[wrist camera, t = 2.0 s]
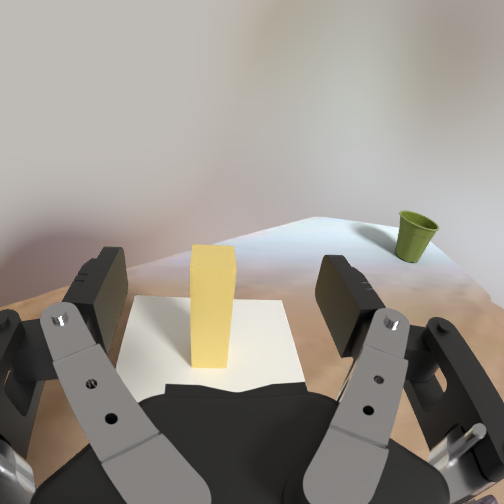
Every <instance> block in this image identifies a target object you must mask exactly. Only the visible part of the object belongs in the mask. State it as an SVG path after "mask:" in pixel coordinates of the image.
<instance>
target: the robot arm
mask: <svg viewBox="0 0 504 504" xmlns="http://www.w3.org/2000/svg"><path fill="white" fill-rule="evenodd" d="M127 291H128V280H127V272H126V265H125V257H124V250H123V248H122V247H104V248H103V249H102V251H101V252H100V254H99V256H98V257H97V259H93V258H92V259H90V260H89V261H88V262H86V263H85V264H84V265H83V266H82V267H81V269H80V271H79V272H78V275H77V276H76V277H75V279H74V282H72V284H71V286H70V288H69V289H68V291H67V293H66V295H65V296H64V298H63V300H62V302H59V303H55V304H53V305H50V306H49V307H47V308H46V309H45V310H44V311H43V312H42V314H41V317H40V319H35V320H27V321H21V319H20V317H19V314H18V313H17V312H16V311H14V310H11V309H6V310H2V311H0V504H453V503H454V504H463V503H465V502H467V501H469V500H470V499H472V498H474V497H475V496H477V495H479V494H480V493H482V492H484V491H485V490H487V489H489V488H490V487H492V486H493V485H495V484H496V483H498V482H499V481H501V480H502V479H504V403H503V401H502V399H501V397H500V396H499V394H498V392H497V390H496V389H495V387H494V385H493V384H492V382H491V380H490V379H489V377H488V375H487V374H486V372H485V371H484V369H483V367H482V366H481V364H480V363H479V361H478V360H477V358H476V357H475V355H474V354H473V352H472V351H471V349H470V348H469V346H468V345H467V343H466V342H465V340H464V339H463V337H462V336H461V334H460V333H459V332H458V330H457V329H456V327H455V326H454V325H453V324H452V323H451V322H449V321H448V320H446V319H443V318H440V317H433V318H431V319H430V320H429V321H428V323H427V325H426V327H420V326H414V325H410V324H409V321H408V319H407V318H406V317H405V316H404V315H403V314H402V313H400V312H398V311H396V310H394V309H390V308H386V307H385V305H384V304H383V302H382V301H381V299H380V298H379V296H378V295H377V294H376V292H375V291H374V290H373V288H372V286H371V285H370V283H368V281H367V279H366V278H365V276H364V275H363V274H362V273H361V272H359V271H358V270H357V269H356V268H354V267H351V266H350V264H349V263H348V261H347V260H346V258H345V257H344V256H343V255H325V256H324V257H323V260H322V264H321V268H320V272H319V276H318V280H317V283H316V288H315V297H316V301H317V303H318V306H319V308H320V310H321V312H322V315H323V317H324V319H325V322H326V324H327V326H328V328H329V331H330V333H331V335H332V338H333V340H334V342H335V345H336V347H337V349H338V352H339V354H340V357H341V358H343V357H353V359H354V360H353V362H352V364H351V367H350V369H349V371H348V373H347V376H346V378H345V380H344V382H343V385H342V387H341V389H340V391H339V393H338V395H337V397H336V400H334V399H332V398H330V397H327V396H325V395H322V394H319V393H314V392H309V391H308V390H307V386H306V383H305V382H295V383H280V384H270V385H267V386H263V387H259V388H255V389H251V390H247V391H243V392H231V391H226V390H221V389H216V388H212V387H207V386H203V385H186V384H165V394H159V395H155V396H151V397H149V398H146V399H144V400H142V401H140V402H138V403H137V401H136V400H135V399H134V397H133V396H132V394H131V393H130V391H129V390H128V388H127V387H126V385H125V384H124V382H123V381H122V379H121V378H120V376H119V375H118V373H117V372H116V370H115V368H114V367H113V365H112V364H111V362H110V360H109V359H108V357H107V356H108V354H109V351H110V347H111V344H112V340H113V337H114V334H115V330H116V327H117V324H118V321H119V318H120V315H121V312H122V308H123V305H124V302H125V299H126V296H127ZM439 367H440V369H441V371H442V372H443V374H444V376H445V378H446V380H447V388H446V391H445V393H444V392H443V390H442V388H441V386H440V384H439V382H438V380H437V379H436V377H435V375H434V374H435V372H436V371H437V369H438V368H439ZM9 370H10V373H9V375H8V378H7V381H6V383H5V386H4V382H5V379H6V376H7V374H8V371H9ZM51 379H59V380H60V383H61V385H62V387H63V390H64V392H65V394H66V397H67V399H68V401H69V403H70V405H71V407H72V410H73V412H74V414H75V416H76V418H77V420H78V422H79V424H80V426H81V428H82V430H83V432H84V433H85V435H86V437H87V439H88V441H89V444H88V445H87V446H86V447H84V448H83V449H82V450H81V451H80V452H79V453H77V454H76V455H75V456H74V457H73V458H72V459H70V460H69V461H68V462H67V463H66V464H65V465H63V466H62V467H61V468H60V469H59V470H57V471H56V472H55V473H54V474H53V475H51V476H50V477H49V478H48V479H47V480H45V481H44V482H43V483H42V484H41V485H40V486H39V487H38V488H37V489H36V490H35V483H34V475H33V471H32V468H31V466H30V465H29V463H28V462H27V461H26V457H27V451H28V446H29V441H30V437H31V432H32V428H33V424H34V420H35V416H36V412H37V408H38V404H39V401H40V397H41V393H42V390H43V387H44V383H45V380H51ZM403 388H404V390H405V392H406V394H407V397H408V399H409V401H410V403H411V406H412V408H413V410H414V413H415V415H416V418H417V420H418V422H419V425H420V427H421V430H422V432H423V435H424V437H425V440H426V442H427V445H428V447H429V450H430V454H429V463H428V462H426V461H425V460H423V459H421V458H420V457H418V456H417V455H415V454H414V453H412V452H411V451H409V450H407V449H406V448H404V447H403V446H401V445H400V444H398V443H397V442H395V441H394V440H392V439H391V438H390V434H391V431H392V428H393V424H394V421H395V417H396V414H397V410H398V406H399V402H400V398H401V394H402V390H403Z"/></svg>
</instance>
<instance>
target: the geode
mask: <svg viewBox="0 0 504 504" xmlns="http://www.w3.org/2000/svg"><path fill="white" fill-rule="evenodd" d="M465 504H498V503H497V500H496V499H495V497H494V496H493V495H488V496H485V497H483V498H481V499H479V500H477V501H475V499H473V500H471V501H468V502H466V503H465Z"/></svg>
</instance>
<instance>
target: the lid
mask: <svg viewBox="0 0 504 504" xmlns="http://www.w3.org/2000/svg"><path fill="white" fill-rule="evenodd" d="M236 271H237V267H236V259H235V251H234V246H218V245H195V244H193V247H192V255H191V264H190V298H179V297H160V296H142V295H135V298H134V302H133V305H132V308H131V312H130V315H129V319H128V322H127V326H126V330H125V333H124V337H123V341H122V345H121V349H120V353H119V357H118V361H117V365H116V369H115V370H116V372H117V373H118V375H119V376H120V378H121V379H122V381H123V382H124V384H125V385H126V387H127V388H128V390H129V391H130V393H131V394H132V396H133V397H134V399H135V400H136V401H137V403H138V402H140V401H142V400H144V399H146V398H149V397H151V396H155V395H159V394H165V384H186V385H203V386H207V387H212V388H216V389H221V390H226V391H231V392H243V391H247V390H251V389H255V388H259V387H263V386H267V385H270V384H280V383H295V382H305V379H304V375H303V372H302V368H301V365H300V362H299V358H298V355H297V351H296V348H295V344H294V341H293V338H292V334H291V331H290V327H289V324H288V321H287V317H286V314H285V311H284V307H283V304H282V300H233V299H234V290H235V280H236ZM305 383H306V382H305ZM307 390H308V389H307Z"/></svg>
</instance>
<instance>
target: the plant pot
mask: <svg viewBox="0 0 504 504" xmlns="http://www.w3.org/2000/svg"><path fill="white" fill-rule="evenodd" d="M399 214H400V216H401V217H400V228H399V234H398V239H397V245H396V250H395V253H396V254H397V256H398V257H399V258H401V259H403V260H404V261H407V262H413V263H416V262H418V260H419V259H420V257H421V255H422V253H423V252H424V250H425V248H426V247H427V245H428V243H429V241H430V240H431V238H432V237H433V236H434V234H435V232H436V231H438V230H439V226H438V225H437V224H436V223H435V222H433V221H432V220H431V219H429V218H427V217H425V216H423V215H421V214H418V213H415V212H411V211H400V213H399Z"/></svg>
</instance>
